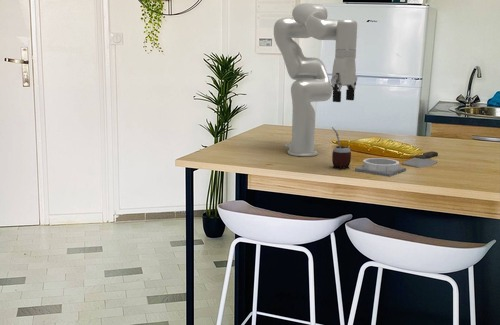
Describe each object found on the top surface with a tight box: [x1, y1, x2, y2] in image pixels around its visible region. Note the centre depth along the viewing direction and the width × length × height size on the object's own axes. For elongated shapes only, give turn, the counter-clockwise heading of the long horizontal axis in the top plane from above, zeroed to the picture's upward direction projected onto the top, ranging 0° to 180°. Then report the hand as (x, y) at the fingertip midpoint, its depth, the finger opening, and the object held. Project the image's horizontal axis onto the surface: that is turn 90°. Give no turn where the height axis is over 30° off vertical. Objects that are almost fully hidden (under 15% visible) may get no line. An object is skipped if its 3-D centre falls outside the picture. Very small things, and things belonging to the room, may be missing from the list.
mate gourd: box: [331, 127, 352, 171], centre depth 227 cm, size 8×8×15 cm
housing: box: [354, 157, 407, 178], centre depth 225 cm, size 14×14×4 cm
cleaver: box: [401, 150, 439, 169], centre depth 244 cm, size 29×10×2 cm, turn 145°
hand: (343, 101), depth 224 cm, fingers open, 9 cm apart
